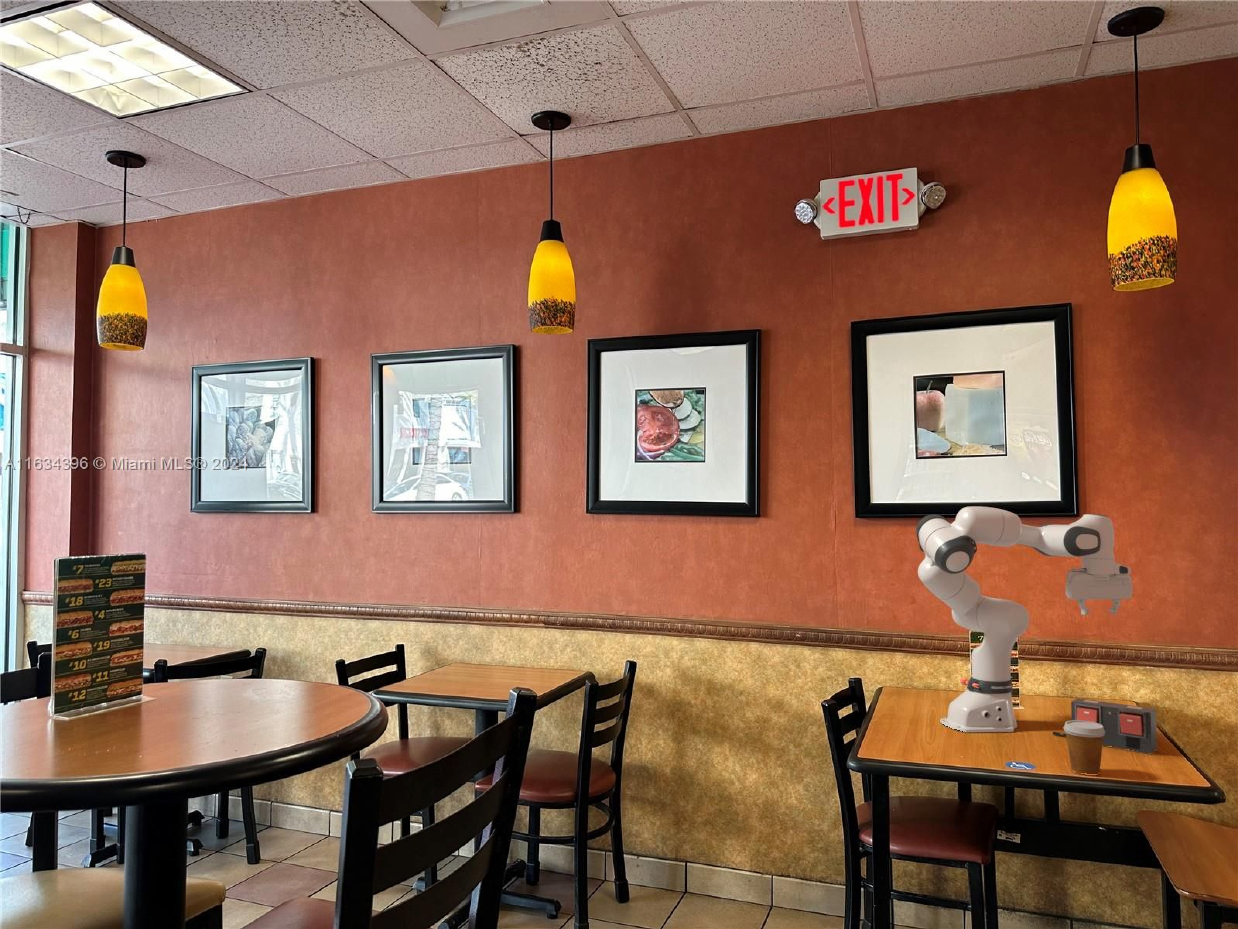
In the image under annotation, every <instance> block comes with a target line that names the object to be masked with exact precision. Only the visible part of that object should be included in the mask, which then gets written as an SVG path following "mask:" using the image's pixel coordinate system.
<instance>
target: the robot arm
mask: <svg viewBox="0 0 1238 929" xmlns="http://www.w3.org/2000/svg"><path fill="white" fill-rule="evenodd" d="M915 528H916V529H915V534H916V537H917V542H918V546H919V549H920V551H921V552H923V553H924V559H923V560H922V561H921V562H920V564H919V566H918V567H917V568H918V569H917V575H918V579H919V580H920V581H921V583H922V584H923V585H924V587H926V588H927V589H928V590H929V591H930V593H932V594H933V595H934V596H935V597H937V599H939V600H940V601H942V602H943V603H944V604H945V605H946V606H948V607H949V608H950V609H951V618H952V619H953V621H954V622H955V624H956V625H957V626H959V627H962V628H964V629H967V630H969V631H972V632H973V631H974V632H978V633H983V639H982V642H981V644H980V645H978V646H977V647H975V648H974V649H973V650H972V652H971V656H970V658H971V676H970V678H969V680H968V679H966V678H965V677H962V678H960V679H959V683H960V684H961V685H963V686H966V690H965V691H963V692H962V693H961V694H960V695H958V696H957V697H956V698H954V700H952V701H951V702H950V703H949V706H948V710H947V717H943V718H940V719H939V721H940V722H941V723H942V724H944V725H945V726H944V725H943V726H944V727H946V726H948V727H947V728H949V727H950V728H949V729H951V728H952V729H951V730H954V729H957V730H960V731H959V732H962V731H963V733H1014V732H1015V729H1017V728H1018V723H1017V720H1016V717H1015V715H1016V714H1015V712H1014V705H1013V698H1012V695H1013V680H1012V679H1011V658H1012V651H1013V648H1014V645H1015V643H1016V641H1017V640H1018V639H1019V637H1021V635H1023V634H1024V633H1026V631H1027V630H1028V628H1029V625H1030V613H1029V611H1028V609H1027V608H1026V607H1025V605H1023V604H1020V603H1019V602H1017V601H1016V602H1015V601H1014V600H1010V599H1004V598H1003V599H1002V598H995V597H991V596H990V597H989V596H986V595H984V594H981V586H980V585H979V583H978V582H977V581H976V580H975V579H973V578H972V577H971V576H970V575H969V574H968V573H966V572H965V570H967V569H968V568H969V567H970V566H971V564H972V562H973V560H974V556H975V554H976V553H977V551H978V545H977V544H982V545H986V546H987V545H988V546H992V547H993V546H994V547H1005V548H1006V547H1013V546H1015V545H1019V546H1020V545H1021V546H1024V547H1025V546H1026V547H1030V548H1032V549H1034V550H1035V551H1037V552H1038V553H1040V554H1041V555H1043V556H1046V557H1065V558H1066V557H1067V558H1081V567H1077V568H1076V567H1075V568H1074V567H1073V568H1071V569H1069V570H1068V571H1067V573H1066V582H1065V596H1066V598H1067V599H1068V600H1076V602H1077V605H1078V606H1079V609H1080V614H1081V615H1082V616H1084V615H1085V616H1087V615H1090V608H1087V605H1086V603H1087V600H1111V603H1112V606H1111V607H1109V608H1108V611H1109V612H1108V613H1109V614H1110V615H1118V613H1119V612H1118V609H1119V607H1120V606H1121V603H1122V600H1131V598H1132V597H1133V593H1134V592H1133V591H1134V589H1133V587H1134V586H1133V580H1132V577H1131V574H1132V571H1131V570H1132V569H1131V567H1129V566H1126V565H1123V564H1121V563H1117V562H1116V557H1115V553H1114V547H1115V530H1114V526H1113V521H1112V519H1111V518H1110V517H1109V516H1107V515H1104V514H1099V513H1098V514H1096V513H1085V514H1084V513H1083V515H1082V516H1081V518H1079V519H1078V520H1076V521H1075V522H1071V523H1069V524H1054V523H1045V524H1044V523H1043V524H1041V525H1038V526H1034V525H1028V524H1023V523H1022V519H1021V518H1020V517H1019V516H1018V514H1017V513H1013V512H1011V511H1008V510H1005V509H1001V508H996V507H989V506H976V505H975V506H966V507H963V508H961V509H960V510H959V511H958V513H957V514H956V516H955V520H954V521H952V523H951V522H950V521H949V520H948V519H947V518H945V517H944V516H941V515H939V514H928V515H926V516H924V517H921V519H920V520H919V521H918V523H917V525H916V527H915ZM940 722H939V723H940ZM941 723H940V724H941ZM942 724H941V725H942ZM957 730H956V731H957Z"/></svg>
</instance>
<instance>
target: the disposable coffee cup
mask: <svg viewBox="0 0 1238 929" xmlns="http://www.w3.org/2000/svg"><path fill="white" fill-rule="evenodd" d="M1062 728H1063V730H1064V733H1065V734H1066V737H1065V738H1066V743H1067V750H1068V756H1069V762H1070V769H1071V771H1072V770H1074V771H1076V772H1079V773H1087V774H1098V773H1099V774H1100V772H1101V762H1102V755H1103V746H1102V745H1103V736H1104V734H1105V730H1104V728H1103V725H1101V724H1098V723H1095V722H1090V721H1081V720H1072V719H1071V720H1067V721H1065V723H1064V726H1062Z"/></svg>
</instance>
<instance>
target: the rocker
mask: <svg viewBox="0 0 1238 929" xmlns="http://www.w3.org/2000/svg"><path fill="white" fill-rule="evenodd" d="M1097 718H1098V710H1093V709H1086V708H1079V707H1077V720H1081V721H1090V722H1095V723H1097Z"/></svg>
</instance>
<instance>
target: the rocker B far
mask: <svg viewBox="0 0 1238 929" xmlns="http://www.w3.org/2000/svg"><path fill="white" fill-rule="evenodd" d="M1119 717H1120V727H1121V732H1122V733H1129V734H1135V735H1141V736H1142V734H1143V732H1142V722H1141V716H1134V715H1127V714H1120V715H1119Z"/></svg>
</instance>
